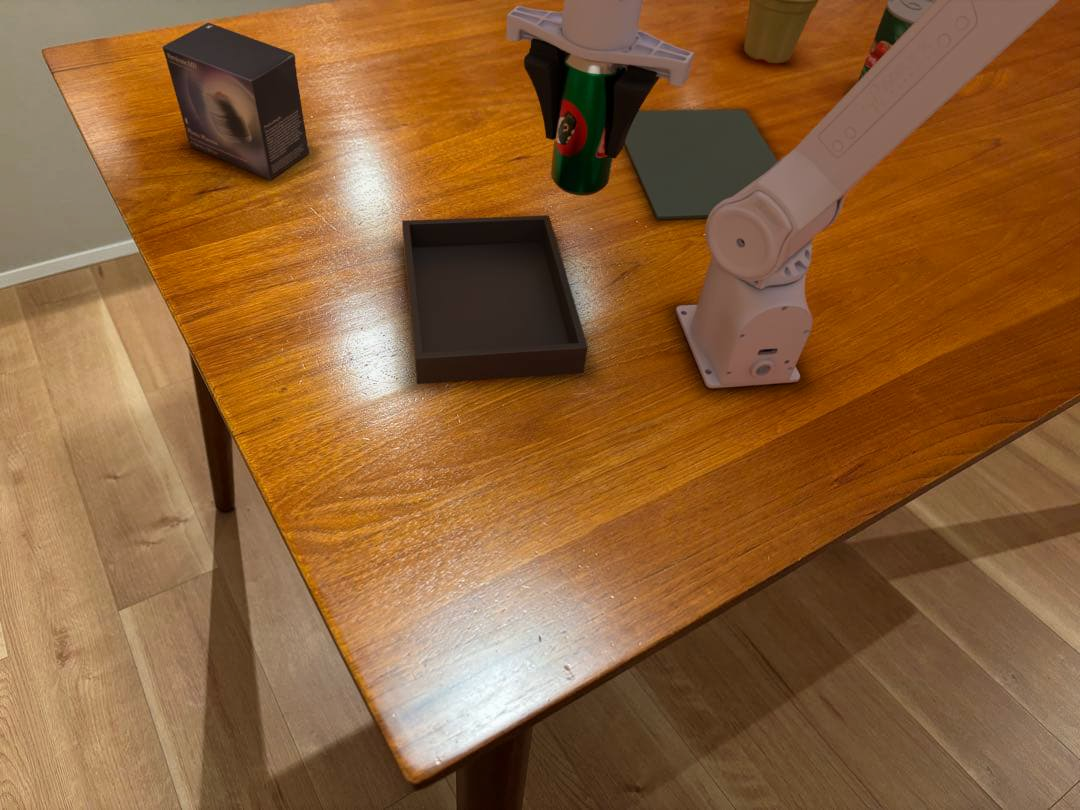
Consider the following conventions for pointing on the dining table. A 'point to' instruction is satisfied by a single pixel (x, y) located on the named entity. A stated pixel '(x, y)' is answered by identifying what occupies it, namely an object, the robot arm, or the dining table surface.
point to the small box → (238, 99)
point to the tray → (489, 300)
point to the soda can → (584, 124)
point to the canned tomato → (894, 27)
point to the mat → (695, 158)
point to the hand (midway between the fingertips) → (584, 143)
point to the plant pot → (775, 28)
